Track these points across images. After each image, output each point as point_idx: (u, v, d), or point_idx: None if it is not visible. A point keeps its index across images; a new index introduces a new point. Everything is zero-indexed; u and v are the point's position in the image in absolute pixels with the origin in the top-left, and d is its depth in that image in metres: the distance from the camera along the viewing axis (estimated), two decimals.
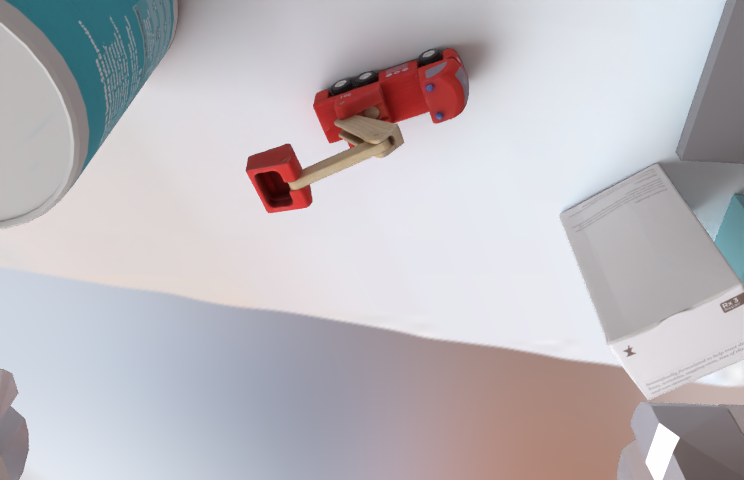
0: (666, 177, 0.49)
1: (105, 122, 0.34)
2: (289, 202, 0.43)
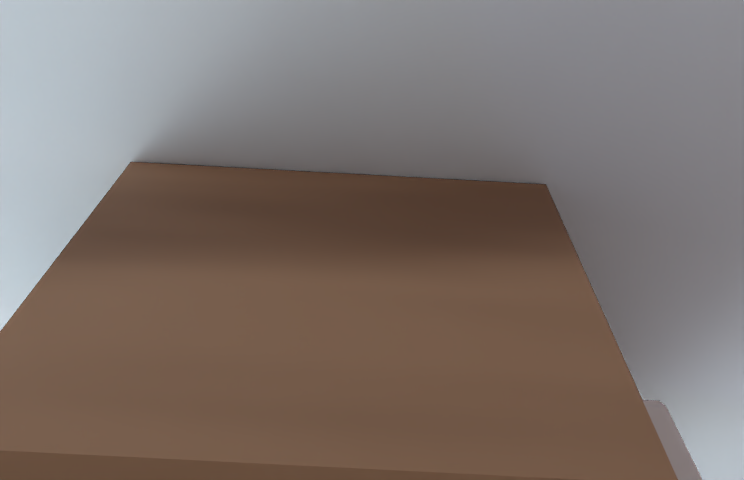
0: None
1: None
2: None
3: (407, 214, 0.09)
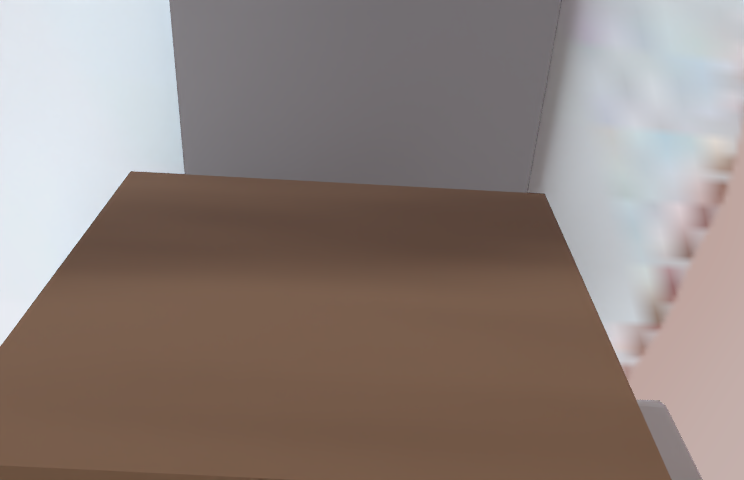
0: None
1: None
2: None
3: (407, 224, 0.09)
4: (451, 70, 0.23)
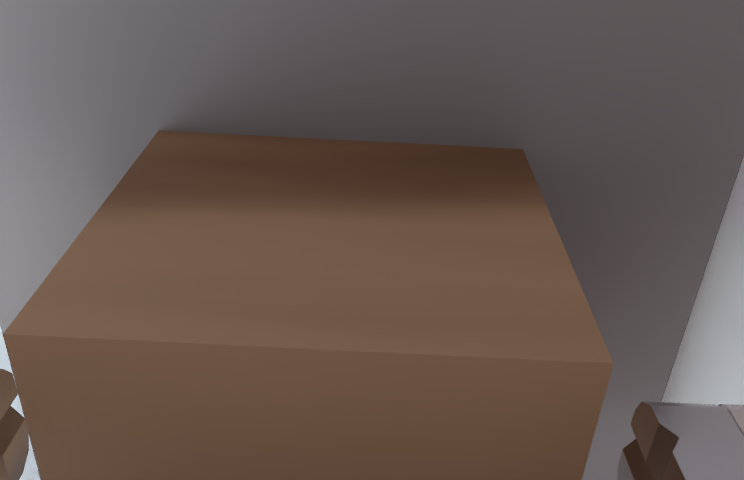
0: None
1: None
2: None
3: (400, 172, 0.10)
4: None
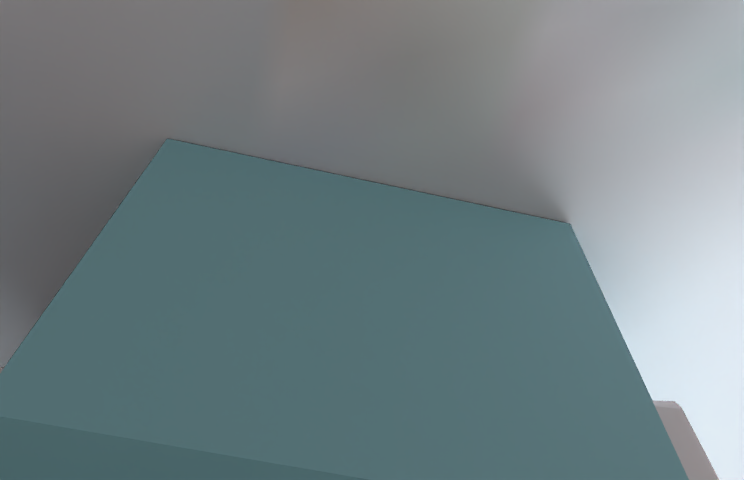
0: None
1: None
2: None
3: None
4: None
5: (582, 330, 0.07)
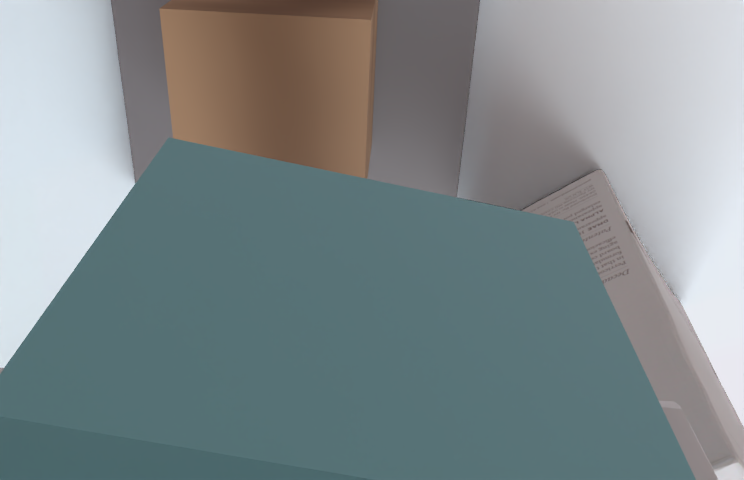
0: None
1: None
2: None
3: None
4: None
5: (586, 328, 0.07)
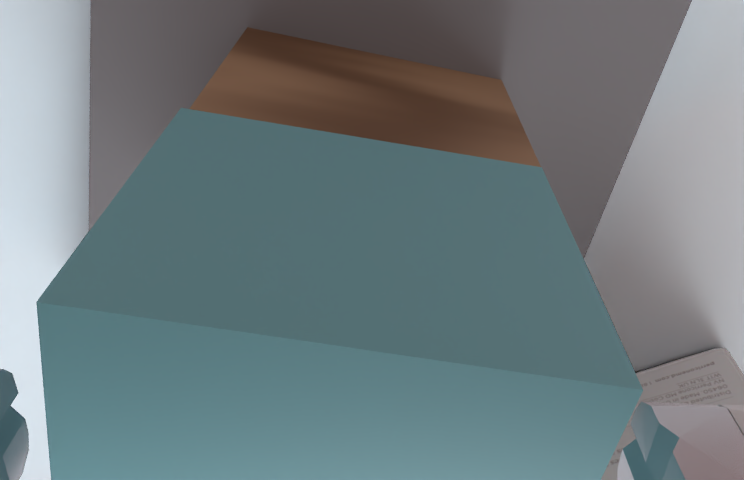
0: None
1: None
2: None
3: None
4: (370, 43, 0.15)
5: (544, 247, 0.09)
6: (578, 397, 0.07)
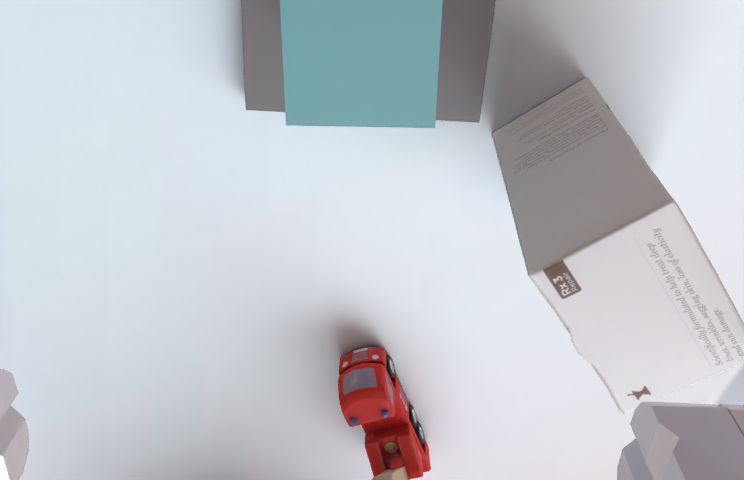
0: (496, 149, 0.36)
1: None
2: None
3: None
4: None
5: None
6: None
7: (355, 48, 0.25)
